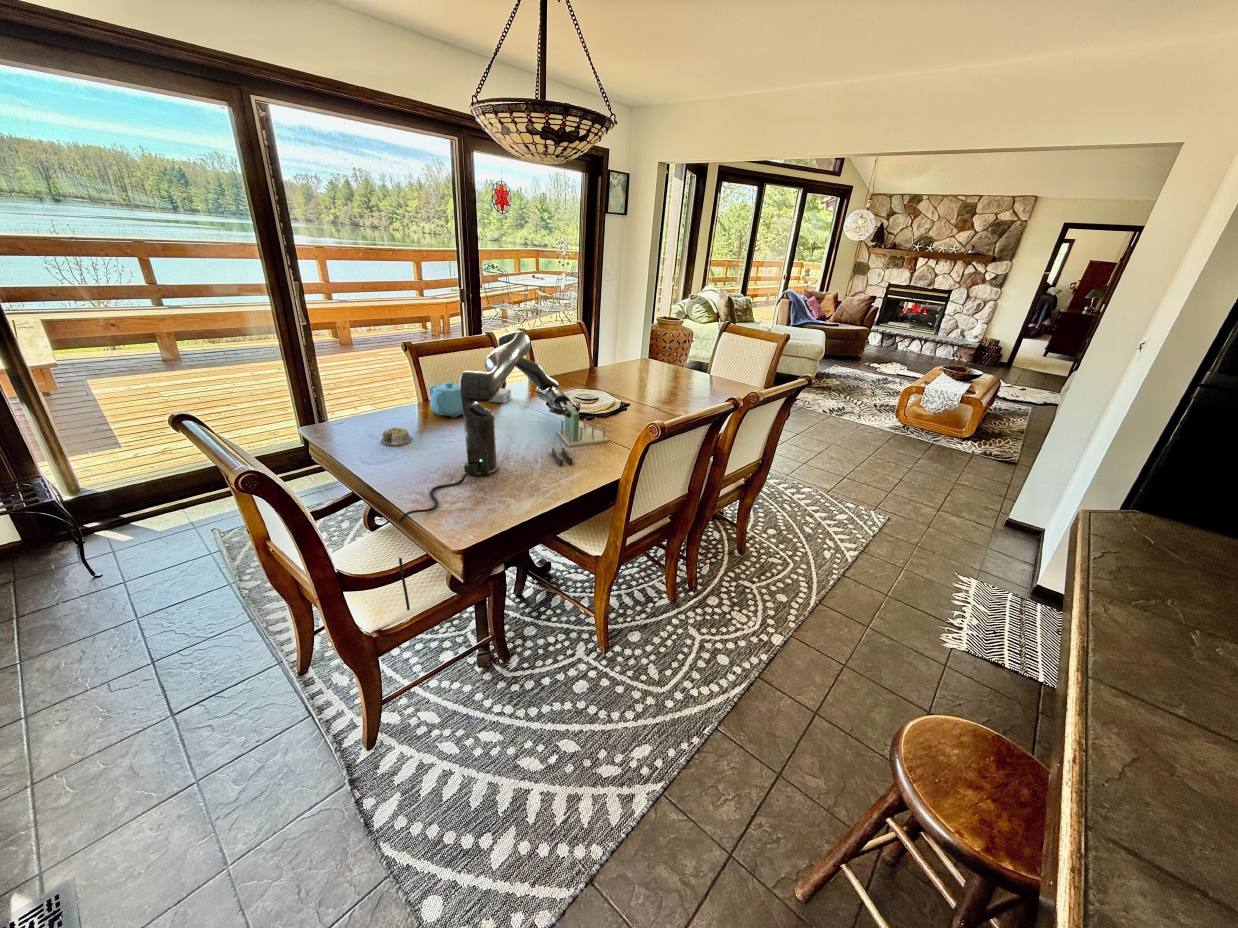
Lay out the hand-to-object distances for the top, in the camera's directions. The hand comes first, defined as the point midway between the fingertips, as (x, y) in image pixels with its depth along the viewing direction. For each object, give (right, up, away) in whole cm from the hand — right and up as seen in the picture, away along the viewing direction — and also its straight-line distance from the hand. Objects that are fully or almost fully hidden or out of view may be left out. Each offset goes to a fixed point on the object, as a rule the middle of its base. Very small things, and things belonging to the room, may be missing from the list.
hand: (572, 415), depth 184 cm
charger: (-42, +11, +42) cm, 60 cm away
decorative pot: (-54, +3, +23) cm, 59 cm away
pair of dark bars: (-3, -17, -13) cm, 22 cm away
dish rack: (+3, -8, +7) cm, 11 cm away
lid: (-1, -8, +5) cm, 9 cm away
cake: (-65, -10, -7) cm, 66 cm away
